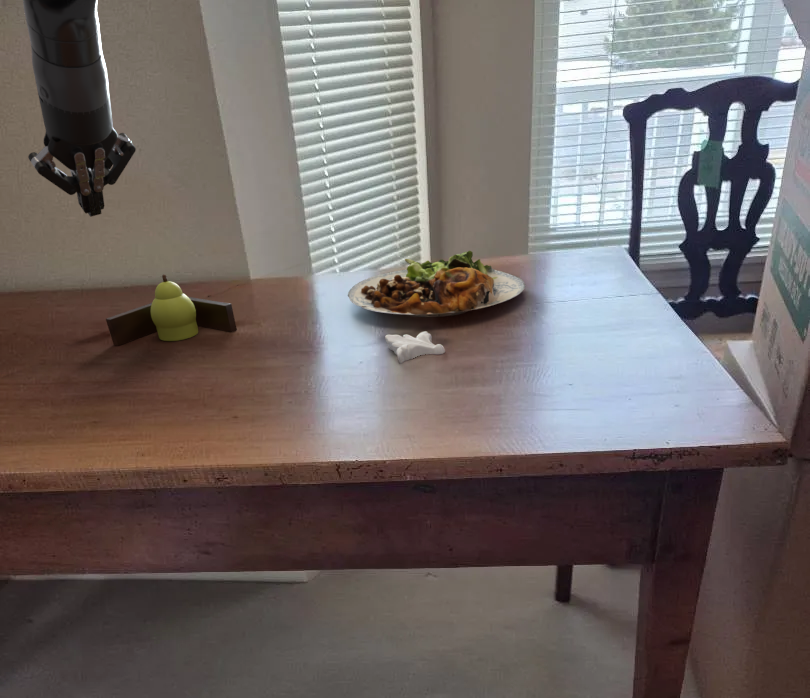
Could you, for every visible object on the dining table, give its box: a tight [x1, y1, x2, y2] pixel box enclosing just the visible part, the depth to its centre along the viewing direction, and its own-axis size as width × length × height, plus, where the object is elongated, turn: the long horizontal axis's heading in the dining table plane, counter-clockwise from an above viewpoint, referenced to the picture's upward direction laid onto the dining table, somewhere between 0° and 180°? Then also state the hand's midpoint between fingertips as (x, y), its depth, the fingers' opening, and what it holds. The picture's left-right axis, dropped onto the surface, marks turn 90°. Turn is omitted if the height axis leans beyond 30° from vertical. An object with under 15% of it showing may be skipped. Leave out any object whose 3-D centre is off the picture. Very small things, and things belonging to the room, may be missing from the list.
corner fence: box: [105, 296, 237, 346], centre depth 110 cm, size 13×13×4 cm
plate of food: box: [347, 250, 526, 318], centre depth 115 cm, size 28×28×6 cm
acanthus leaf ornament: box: [384, 330, 446, 364], centre depth 98 cm, size 8×7×2 cm
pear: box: [151, 274, 199, 342], centre depth 110 cm, size 7×7×9 cm
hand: (92, 211), depth 97 cm, fingers closed
